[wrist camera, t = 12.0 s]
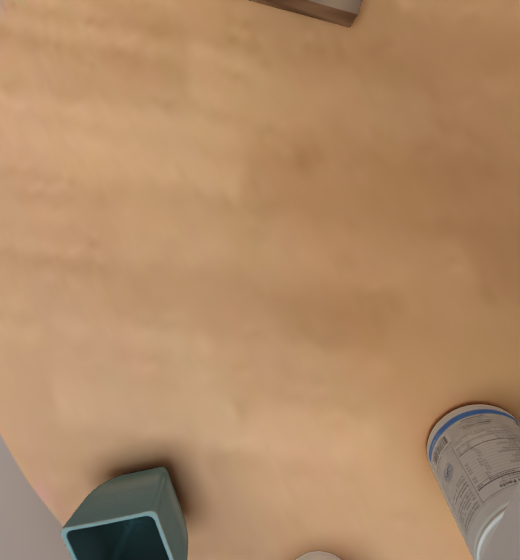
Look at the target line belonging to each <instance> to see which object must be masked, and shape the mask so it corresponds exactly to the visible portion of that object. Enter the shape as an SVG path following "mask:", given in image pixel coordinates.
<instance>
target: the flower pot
mask: <svg viewBox="0 0 520 560" xmlns="http://www.w3.org/2000/svg"><path fill="white" fill-rule="evenodd" d="M61 536H62V539H63V541H64V543H65V545H66V547H67V549H68V551H69V553H70V556H71V558H72V560H187V555H188V534H187V527H186V523H185V519H184V515H183V512H182V510H181V507H180V504H179V501H178V499H177V496H176V493H175V491H174V488H173V485H172V482H171V480H170V477H169V474H168V472H167V470H166V468H165V467H157V468H153V469H148V470H144V471H139V472H134V473H129V474H124V475H120V476H118V477H115V478H113V479H111V480H109V481H107V482H105V483H103V484H101V485H100V486H98V487H97V488H96V489H94V490H93V491H92V492H91V493H90V494H89V495H88V496H87V497H86V498H85V500H84V501H83V502H82V503H81V505H80V506H79V507H78V508H77V510H76V511H75V512H74V514H73V515H72V516H71V518H70V519H69V520H68V522H67V523H66V524H65V526H64V527H63V528H62V529H61Z"/></svg>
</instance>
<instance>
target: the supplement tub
mask: <svg viewBox="0 0 520 560" xmlns="http://www.w3.org/2000/svg"><path fill="white" fill-rule="evenodd" d="M427 458H428V462H429V464H430V467H431V469H432V471H433V473H434V476H435V478H436V480H437V482H438V484H439V486H440V488H441V490H442V492H443V495H444V497H445V499H446V501H447V504H448V506H449V508H450V510H451V512H452V514H453V516H454V519H455V521H456V523H457V525H458V527H459V529H460V531H461V534H462V536H463V538H464V540H465V542H466V544H467V546H468V549H469V551H470V553H471V555H472V557H473V559H474V560H481V559H482V557H483V555H484V553H485V551H486V549H487V547H488V545H489V543H490V541H491V539H492V537H493V535H494V533H495V531H496V529H497V527H498V524H499V522H500V520H501V518H502V516H503V514H504V512H505V510H506V508H507V506H508V504H509V502H510V500H511V498H512V496H513V494H514V492H515V489H516V487H517V485H518V483H519V481H520V423H519V421H518V420H517V419H516V418H515V417H514V416H512V415H511V414H510V413H508V412H507V411H505V410H503V409H501V408H498V407H495V406H491V405H484V404H475V405H468V406H464V407H460V408H458V409H455V410H453V411H451V412H450V413H448V414H447V415H445V416H444V417H443V418H442V419H441V420H440V421H439V422H438V423H437V424H436V425H435V426H434V428H433V429H432V431H431V433H430V436H429V439H428V443H427Z"/></svg>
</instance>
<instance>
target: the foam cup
mask: <svg viewBox="0 0 520 560" xmlns="http://www.w3.org/2000/svg"><path fill="white" fill-rule="evenodd" d="M296 560H341V559H340V558H338V557H337V556H335V555H334V554H332V553H328V552H323V551H315V552H308V553H305V554H304V555H302V556H300V557H299V558H297V559H296Z"/></svg>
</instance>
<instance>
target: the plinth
mask: <svg viewBox="0 0 520 560" xmlns="http://www.w3.org/2000/svg"><path fill="white" fill-rule="evenodd" d="M250 1H254V2H258V3H261V4H265V5H269V6H272V7H276V8H280V9H283V10H287V11H291V12H295V13H298V14H302V15H306V16H309V17H313V18H317V19H320V20H324V21H328V22H331V23H335V24H339V25H343V26H346V27H350V26H351V24H352V23H353V21H354V20H355V18H356V16H357V15H358V12H359V8H360V5H361V1H362V0H250Z"/></svg>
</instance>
